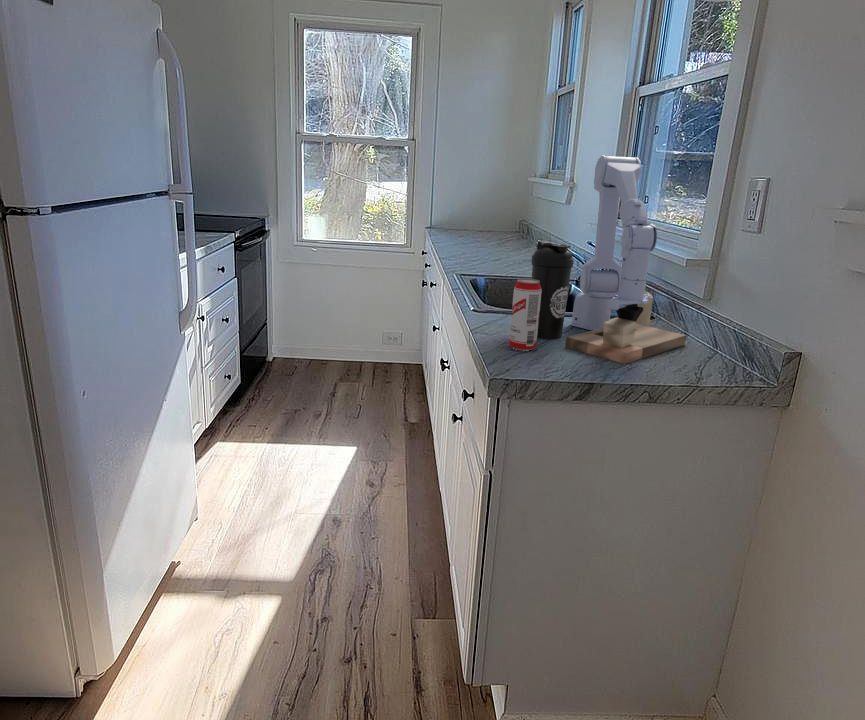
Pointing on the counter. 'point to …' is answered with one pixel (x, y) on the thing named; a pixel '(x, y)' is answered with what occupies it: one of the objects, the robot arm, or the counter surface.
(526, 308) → the beer can
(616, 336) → the maple block
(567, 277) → the water bottle
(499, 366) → the counter surface
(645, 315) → the cream domed cylinder
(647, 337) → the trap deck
